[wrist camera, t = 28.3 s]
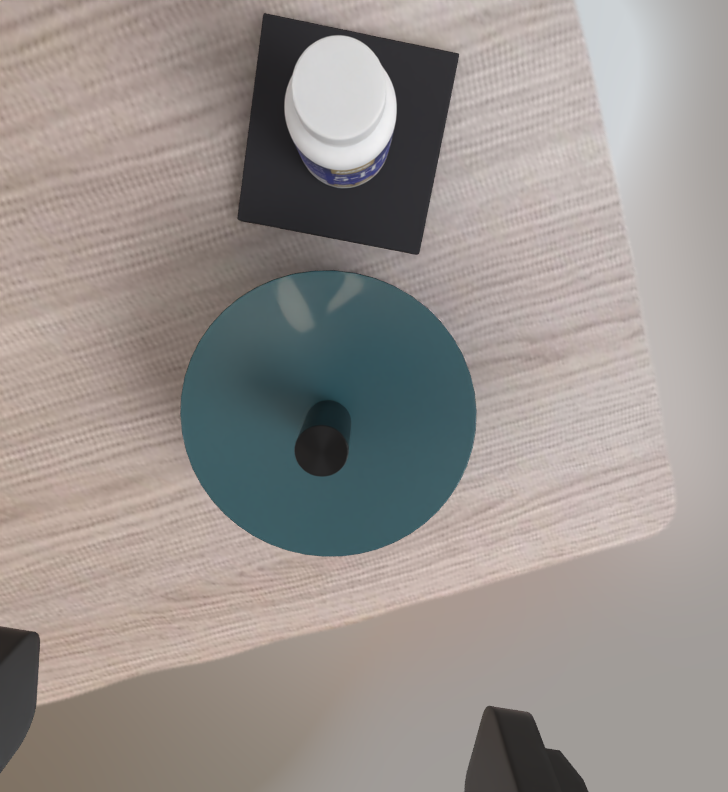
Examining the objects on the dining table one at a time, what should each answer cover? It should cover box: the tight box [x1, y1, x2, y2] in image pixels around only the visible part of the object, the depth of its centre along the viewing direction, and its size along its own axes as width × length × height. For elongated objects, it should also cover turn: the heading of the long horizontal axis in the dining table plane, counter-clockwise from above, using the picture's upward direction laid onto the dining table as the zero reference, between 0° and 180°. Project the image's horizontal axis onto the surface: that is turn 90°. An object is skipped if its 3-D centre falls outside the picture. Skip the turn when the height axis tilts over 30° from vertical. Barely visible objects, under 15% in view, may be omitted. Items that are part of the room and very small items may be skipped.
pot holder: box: [238, 13, 459, 255], centre depth 31 cm, size 11×11×1 cm
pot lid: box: [180, 270, 476, 556], centre depth 27 cm, size 16×16×6 cm
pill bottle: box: [284, 35, 397, 188], centre depth 27 cm, size 5×5×9 cm
